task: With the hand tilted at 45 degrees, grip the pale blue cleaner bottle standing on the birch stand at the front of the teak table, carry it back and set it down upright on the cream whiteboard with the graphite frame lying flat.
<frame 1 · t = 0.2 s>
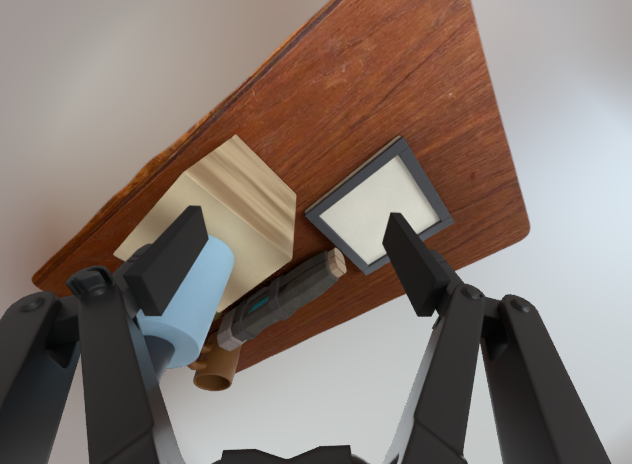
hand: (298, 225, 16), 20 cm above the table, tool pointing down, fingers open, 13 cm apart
stand: (242, 192, 35), on the table
cleaner bottle: (205, 257, 22), point 16 cm above the table, touching stand
whiteboard: (378, 214, 39), on the table
tube: (280, 282, 47), on the table
mug: (220, 332, 55), on the table
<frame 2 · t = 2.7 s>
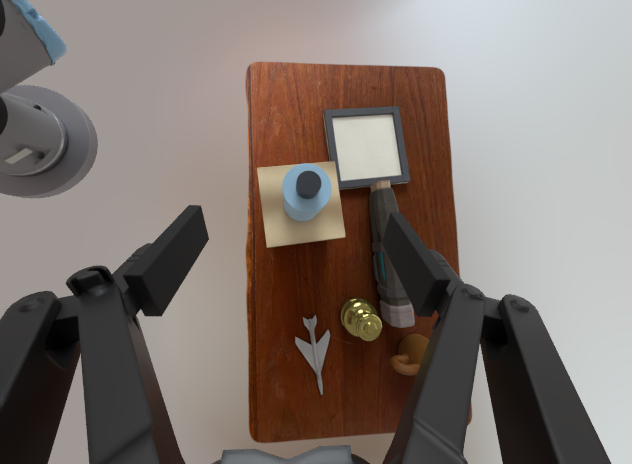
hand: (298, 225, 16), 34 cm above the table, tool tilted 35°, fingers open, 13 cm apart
stand: (297, 216, 50), on the table
salt shaker: (354, 312, 50), on the table
cleaner bottle: (301, 203, 34), point 16 cm above the table, touching stand
whiteboard: (365, 149, 53), on the table
tube: (379, 250, 52), on the table
mug: (402, 349, 51), on the table
toy airplane: (313, 344, 49), on the table
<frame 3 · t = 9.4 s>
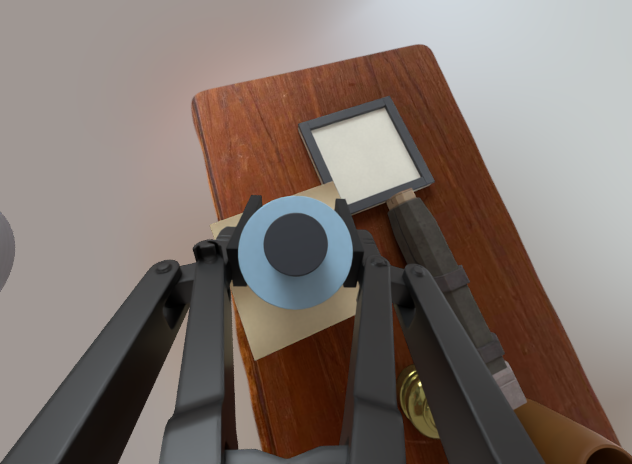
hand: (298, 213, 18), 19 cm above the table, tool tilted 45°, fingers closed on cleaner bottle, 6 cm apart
stand: (298, 269, 35), on the table
salt shaker: (417, 389, 33), on the table
cleaner bottle: (297, 262, 20), point 16 cm above the table, touching gripper, stand
whiteboard: (363, 158, 40), on the table
tube: (423, 285, 37), on the table
mug: (506, 427, 33), on the table
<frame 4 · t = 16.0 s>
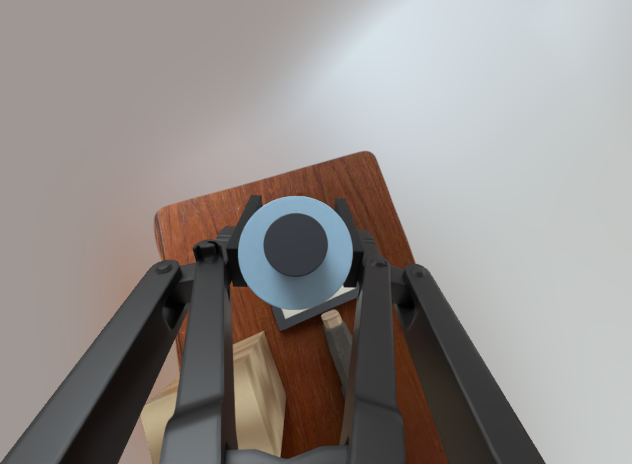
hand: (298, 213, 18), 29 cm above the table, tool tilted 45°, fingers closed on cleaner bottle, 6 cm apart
stand: (243, 377, 41), on the table
cleaner bottle: (297, 262, 20), point 26 cm above the table, touching gripper
whiteboard: (307, 266, 45), on the table
tube: (355, 388, 42), on the table
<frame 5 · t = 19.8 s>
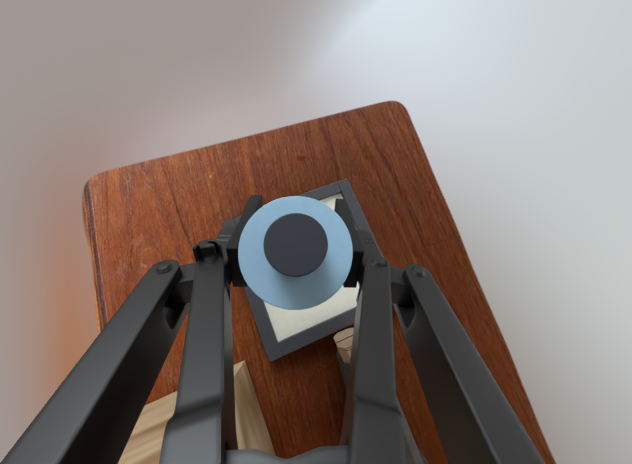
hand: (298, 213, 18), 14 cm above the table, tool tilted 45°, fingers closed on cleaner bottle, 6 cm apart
stand: (211, 435, 26), on the table
cleaner bottle: (297, 262, 20), point 11 cm above the table, touching gripper
whiteboard: (311, 262, 31), on the table
tube: (385, 449, 27), on the table
when the fingers open (4 cm above the table, at t = 22.7 s): cleaner bottle stays where it is, resting on whiteboard.
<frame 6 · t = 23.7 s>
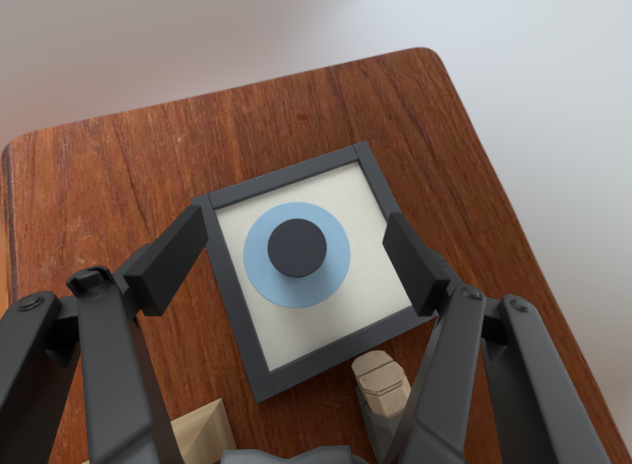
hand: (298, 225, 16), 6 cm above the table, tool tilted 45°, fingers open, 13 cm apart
cleaner bottle: (298, 263, 21), point 1 cm above the table, touching whiteboard
whiteboard: (317, 256, 22), on the table
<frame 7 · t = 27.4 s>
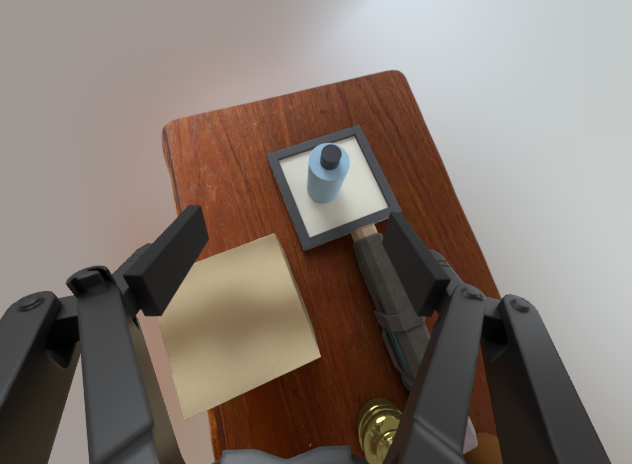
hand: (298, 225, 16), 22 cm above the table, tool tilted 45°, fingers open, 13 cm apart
stand: (262, 301, 36), on the table
salt shaker: (379, 423, 33), on the table
cleaner bottle: (322, 188, 39), point 1 cm above the table, touching whiteboard
whiteboard: (332, 186, 40), on the table
tube: (388, 316, 37), on the table
mug: (467, 463, 33), on the table
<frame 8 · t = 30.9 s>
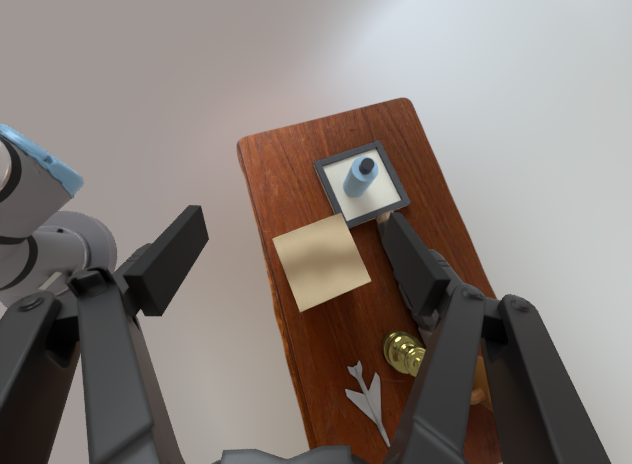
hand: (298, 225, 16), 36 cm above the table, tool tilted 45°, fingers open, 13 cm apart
stand: (314, 265, 51), on the table
salt shaker: (396, 347, 49), on the table
cleaner bottle: (354, 186, 54), point 1 cm above the table, touching whiteboard
whiteboard: (360, 185, 56), on the table
tube: (402, 276, 52), on the table
mug: (456, 373, 49), on the table
toy airplane: (365, 391, 47), on the table
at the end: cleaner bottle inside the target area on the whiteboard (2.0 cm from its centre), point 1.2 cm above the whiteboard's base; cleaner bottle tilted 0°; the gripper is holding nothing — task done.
